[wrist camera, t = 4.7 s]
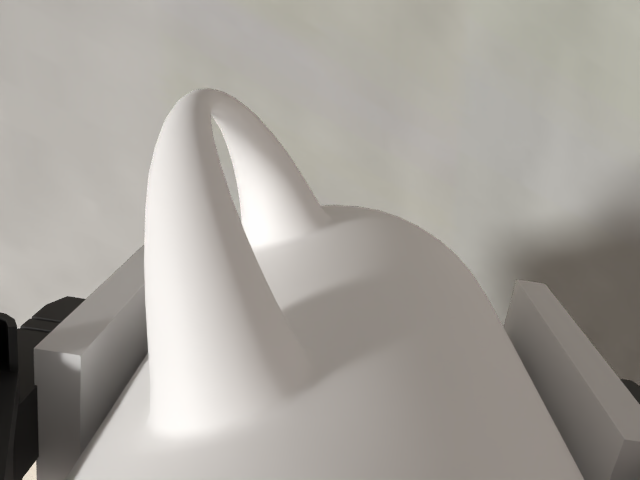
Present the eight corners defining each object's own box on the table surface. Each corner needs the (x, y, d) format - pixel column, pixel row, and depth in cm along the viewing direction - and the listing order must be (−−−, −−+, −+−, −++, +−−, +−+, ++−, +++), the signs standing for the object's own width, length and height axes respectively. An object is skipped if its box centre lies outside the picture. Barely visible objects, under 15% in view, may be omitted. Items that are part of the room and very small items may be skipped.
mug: (428, 21, 14) (638, -36, 4) (514, 436, 17) (742, 989, 7) (96, 118, 15) (-444, 280, 5) (241, 488, 19) (107, 1030, 8)
